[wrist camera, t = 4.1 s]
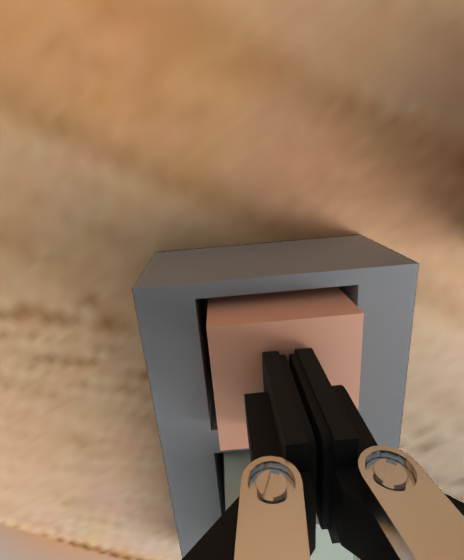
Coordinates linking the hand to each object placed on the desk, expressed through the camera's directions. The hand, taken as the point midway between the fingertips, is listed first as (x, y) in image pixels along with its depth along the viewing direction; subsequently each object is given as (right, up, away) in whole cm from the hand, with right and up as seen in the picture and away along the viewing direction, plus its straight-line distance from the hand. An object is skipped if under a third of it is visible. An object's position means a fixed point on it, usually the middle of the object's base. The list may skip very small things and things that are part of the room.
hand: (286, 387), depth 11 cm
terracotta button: (0, +2, +5) cm, 5 cm away
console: (0, -4, +8) cm, 10 cm away
